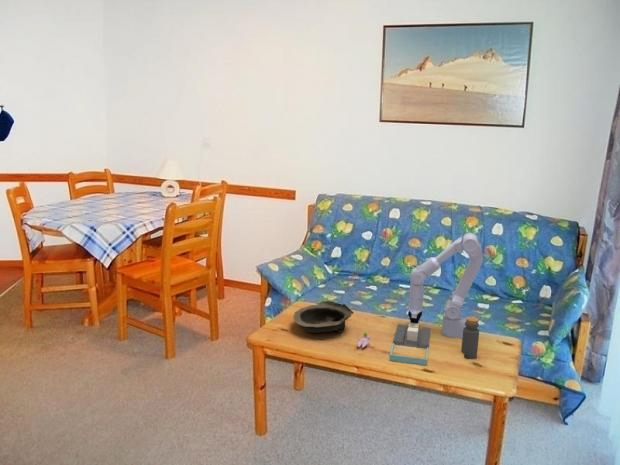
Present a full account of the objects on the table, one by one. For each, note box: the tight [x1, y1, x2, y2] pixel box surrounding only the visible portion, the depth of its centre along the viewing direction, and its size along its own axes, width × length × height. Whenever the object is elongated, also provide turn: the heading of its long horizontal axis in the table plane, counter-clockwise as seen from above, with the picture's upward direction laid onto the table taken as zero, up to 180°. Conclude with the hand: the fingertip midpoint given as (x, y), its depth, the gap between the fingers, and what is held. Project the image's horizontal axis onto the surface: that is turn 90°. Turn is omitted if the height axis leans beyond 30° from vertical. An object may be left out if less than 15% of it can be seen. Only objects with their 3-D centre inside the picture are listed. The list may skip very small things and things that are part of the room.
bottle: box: [461, 316, 480, 360], centre depth 208 cm, size 6×6×15 cm
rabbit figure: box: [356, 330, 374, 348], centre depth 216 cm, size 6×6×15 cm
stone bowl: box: [292, 300, 354, 334], centre depth 231 cm, size 25×25×9 cm
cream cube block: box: [407, 322, 420, 332], centre depth 225 cm, size 4×4×4 cm
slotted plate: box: [392, 323, 432, 350], centre depth 221 cm, size 14×18×3 cm
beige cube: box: [407, 327, 418, 341], centre depth 220 cm, size 4×4×4 cm
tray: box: [389, 343, 430, 367], centre depth 207 cm, size 14×12×2 cm
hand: (414, 328), depth 230 cm, fingers closed
